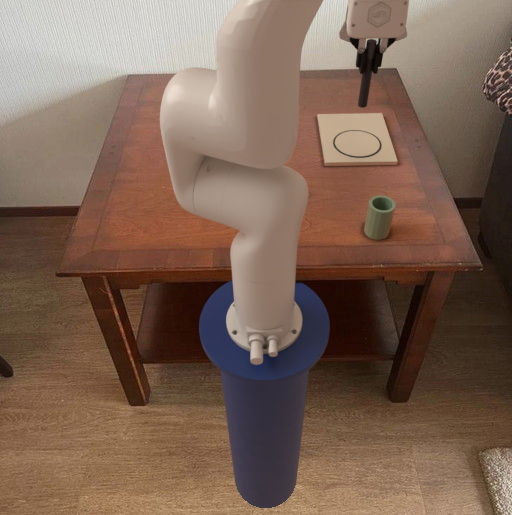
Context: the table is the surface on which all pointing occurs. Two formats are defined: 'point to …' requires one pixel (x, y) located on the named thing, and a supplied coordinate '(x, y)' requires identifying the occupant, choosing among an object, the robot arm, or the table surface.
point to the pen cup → (379, 217)
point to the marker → (367, 73)
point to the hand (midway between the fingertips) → (367, 69)
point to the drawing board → (355, 140)
